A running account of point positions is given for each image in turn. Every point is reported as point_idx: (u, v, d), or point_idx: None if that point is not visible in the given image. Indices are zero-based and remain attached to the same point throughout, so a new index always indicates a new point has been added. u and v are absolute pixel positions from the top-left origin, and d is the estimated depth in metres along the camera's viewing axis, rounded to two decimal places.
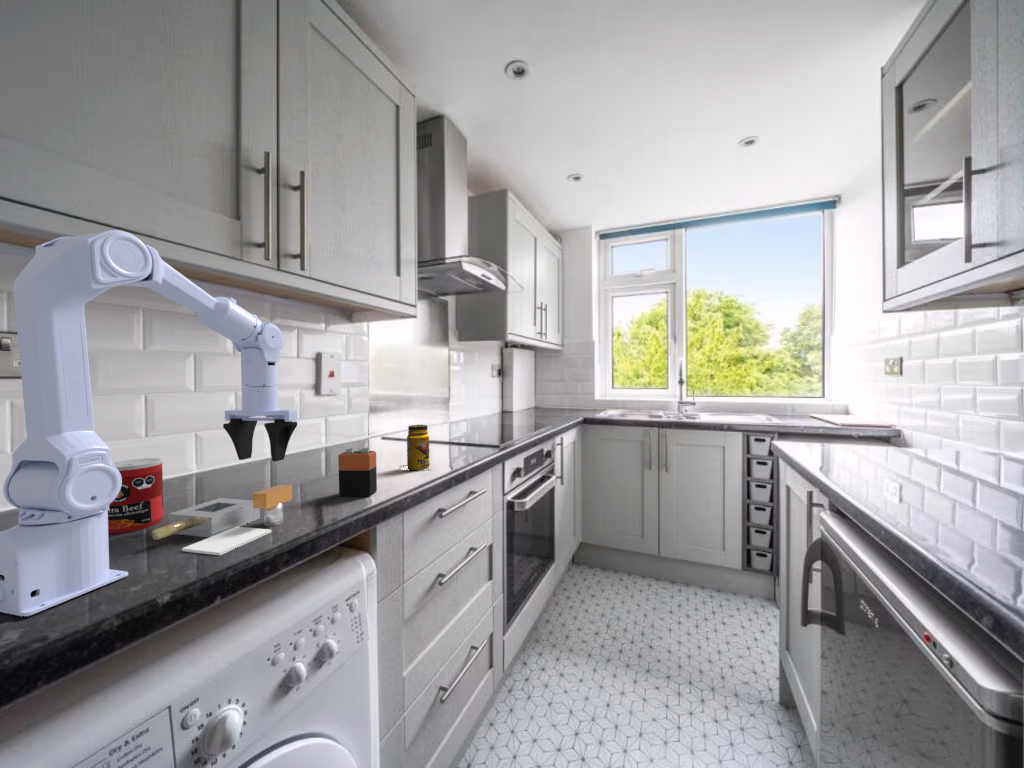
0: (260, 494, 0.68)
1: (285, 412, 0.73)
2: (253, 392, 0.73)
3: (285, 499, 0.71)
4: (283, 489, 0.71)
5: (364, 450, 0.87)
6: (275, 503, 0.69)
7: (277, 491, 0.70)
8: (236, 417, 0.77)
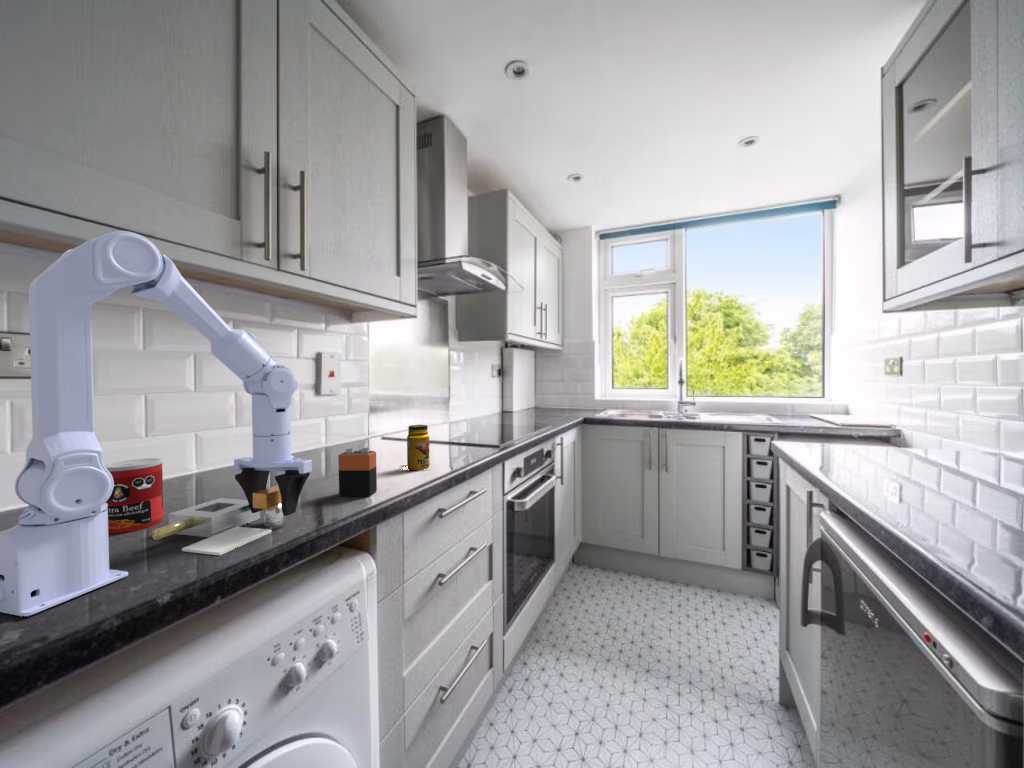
0: (260, 494, 0.68)
1: (300, 463, 0.68)
2: (265, 442, 0.68)
3: None
4: None
5: (364, 450, 0.87)
6: (275, 503, 0.69)
7: (277, 491, 0.70)
8: (246, 466, 0.72)
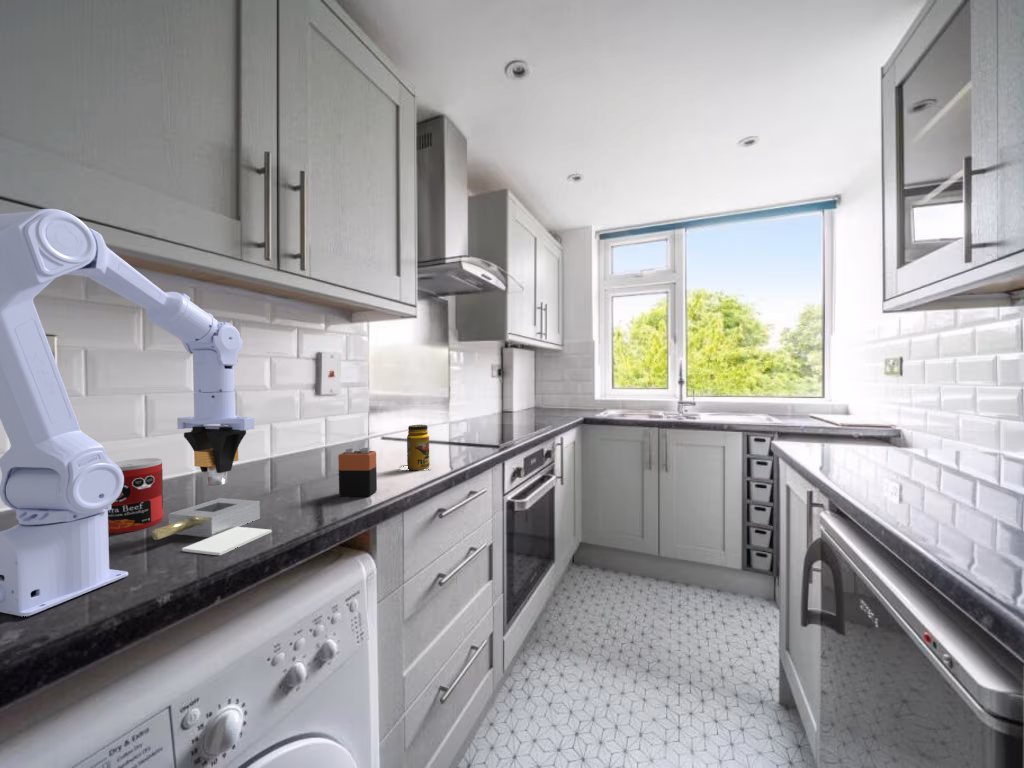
0: (201, 452, 0.67)
1: (240, 420, 0.67)
2: (205, 398, 0.67)
3: None
4: None
5: (364, 450, 0.87)
6: None
7: None
8: (190, 425, 0.71)
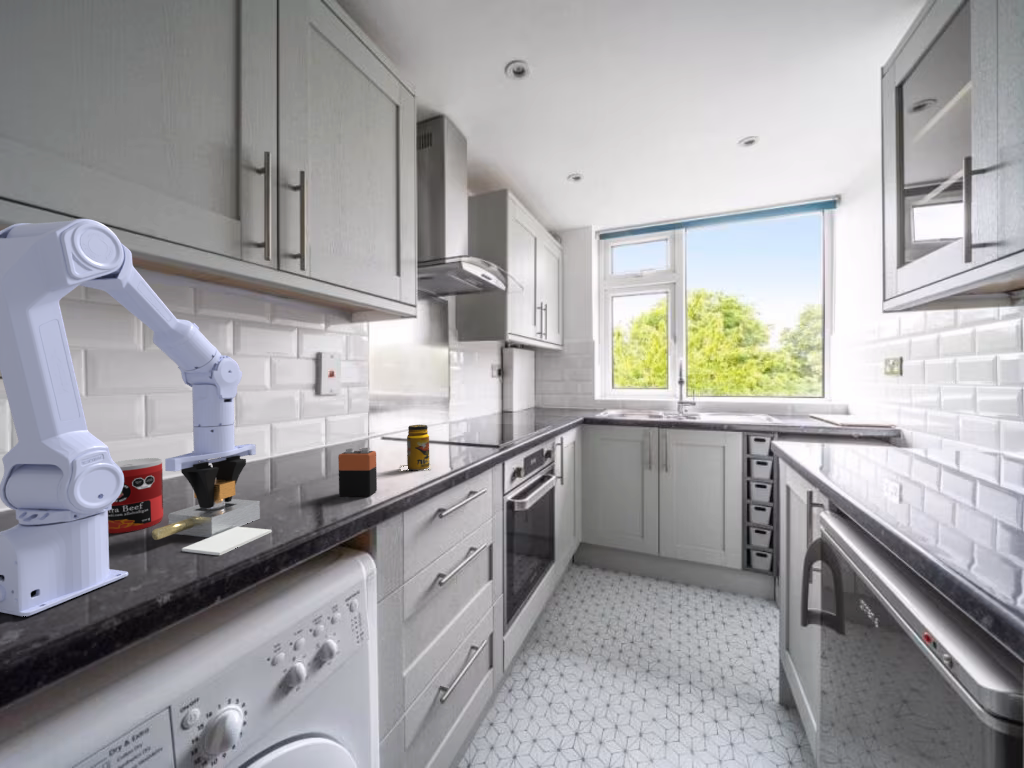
0: (228, 483, 0.69)
1: (252, 446, 0.76)
2: (232, 430, 0.70)
3: None
4: None
5: (364, 450, 0.87)
6: None
7: None
8: (184, 465, 0.65)
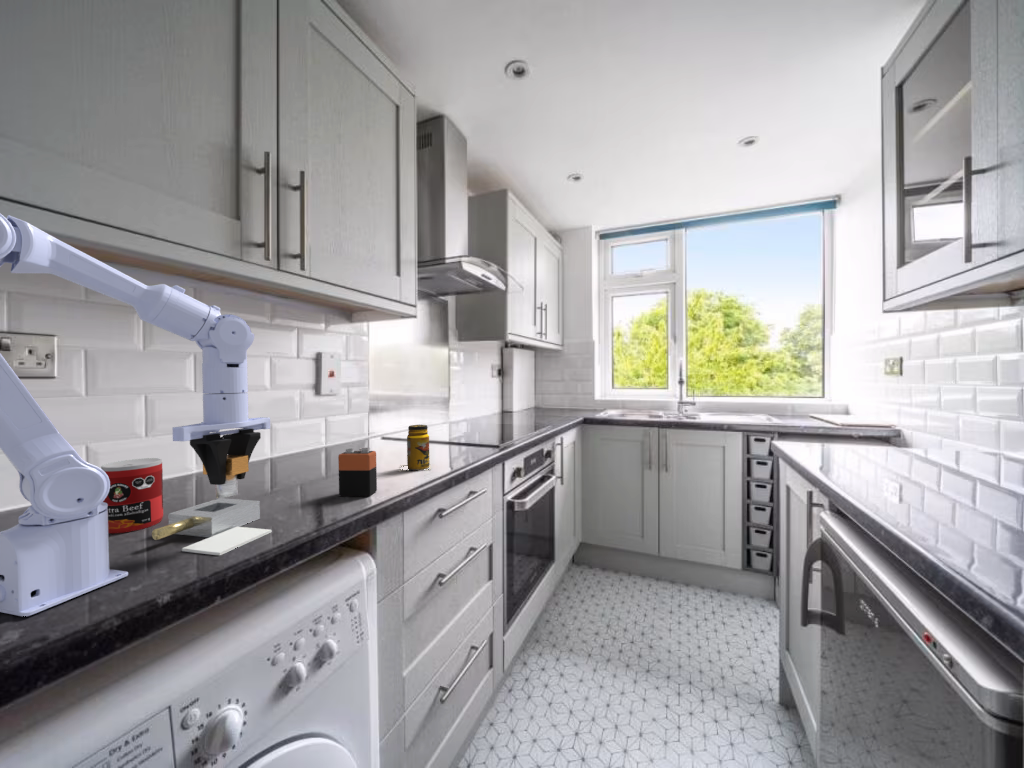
0: (241, 457, 0.62)
1: (267, 419, 0.69)
2: (246, 399, 0.63)
3: None
4: (229, 456, 0.65)
5: (364, 450, 0.87)
6: None
7: (236, 456, 0.64)
8: (193, 435, 0.58)
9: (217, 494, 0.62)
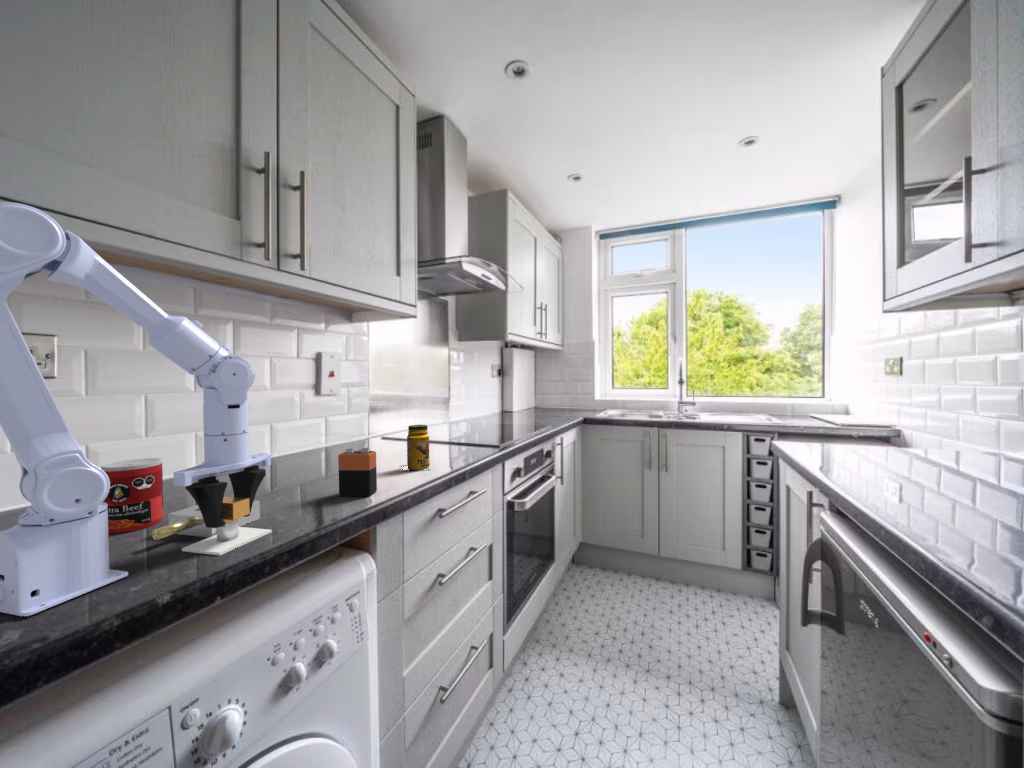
0: (242, 501, 0.63)
1: (268, 455, 0.69)
2: (247, 439, 0.63)
3: None
4: None
5: (364, 450, 0.87)
6: None
7: None
8: (194, 478, 0.58)
9: (218, 538, 0.62)
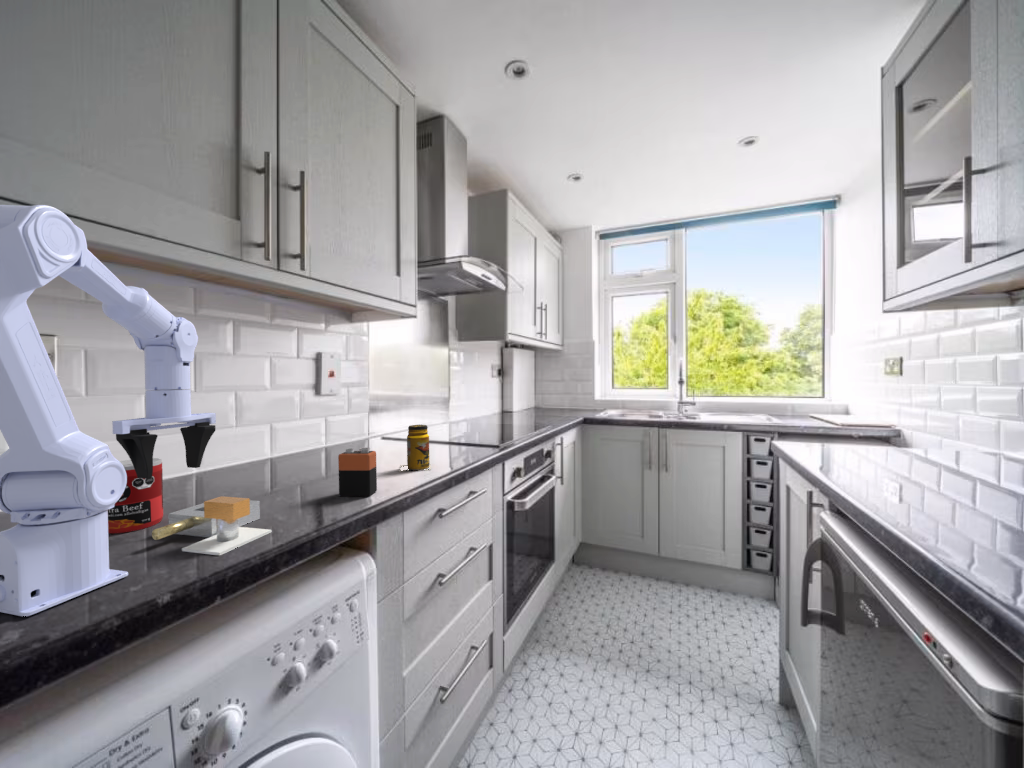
0: (242, 501, 0.63)
1: (212, 414, 0.73)
2: (188, 395, 0.68)
3: None
4: None
5: (364, 450, 0.87)
6: None
7: None
8: (133, 428, 0.62)
9: (218, 538, 0.62)
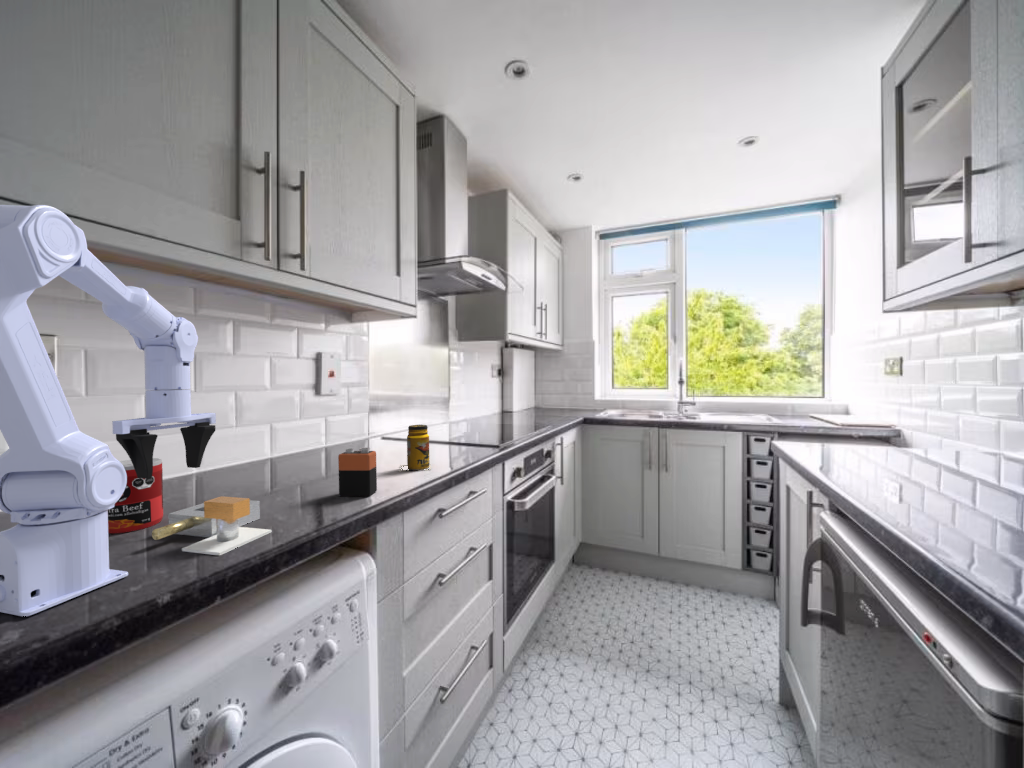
0: (242, 501, 0.63)
1: (212, 414, 0.73)
2: (188, 395, 0.68)
3: None
4: None
5: (364, 450, 0.87)
6: None
7: None
8: (133, 428, 0.62)
9: (218, 538, 0.62)
